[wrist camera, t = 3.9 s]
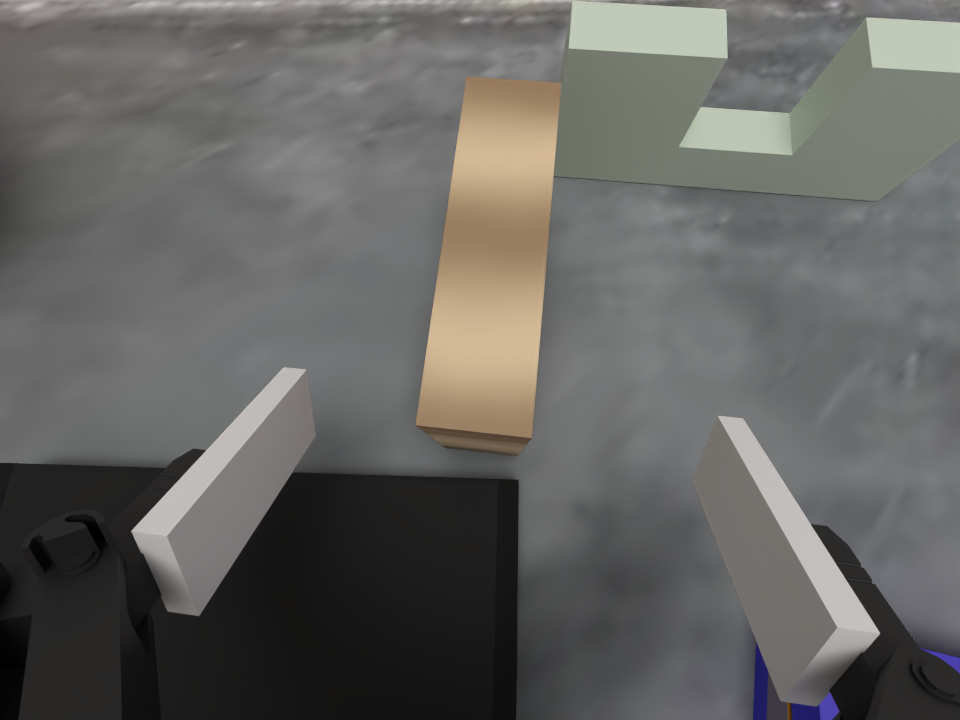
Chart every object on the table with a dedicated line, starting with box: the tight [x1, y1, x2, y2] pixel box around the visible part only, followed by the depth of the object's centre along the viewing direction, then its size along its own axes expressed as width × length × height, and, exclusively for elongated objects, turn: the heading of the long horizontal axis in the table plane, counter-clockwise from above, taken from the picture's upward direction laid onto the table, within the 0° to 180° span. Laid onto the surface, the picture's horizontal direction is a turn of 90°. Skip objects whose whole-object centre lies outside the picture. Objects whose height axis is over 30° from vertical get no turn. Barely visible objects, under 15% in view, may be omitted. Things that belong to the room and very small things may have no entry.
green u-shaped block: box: [554, 1, 960, 201], centre depth 22 cm, size 18×2×8 cm, turn 84°
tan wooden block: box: [416, 77, 561, 456], centre depth 20 cm, size 13×4×9 cm, turn 174°
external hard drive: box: [0, 463, 519, 720], centre depth 20 cm, size 14×23×3 cm, turn 88°
